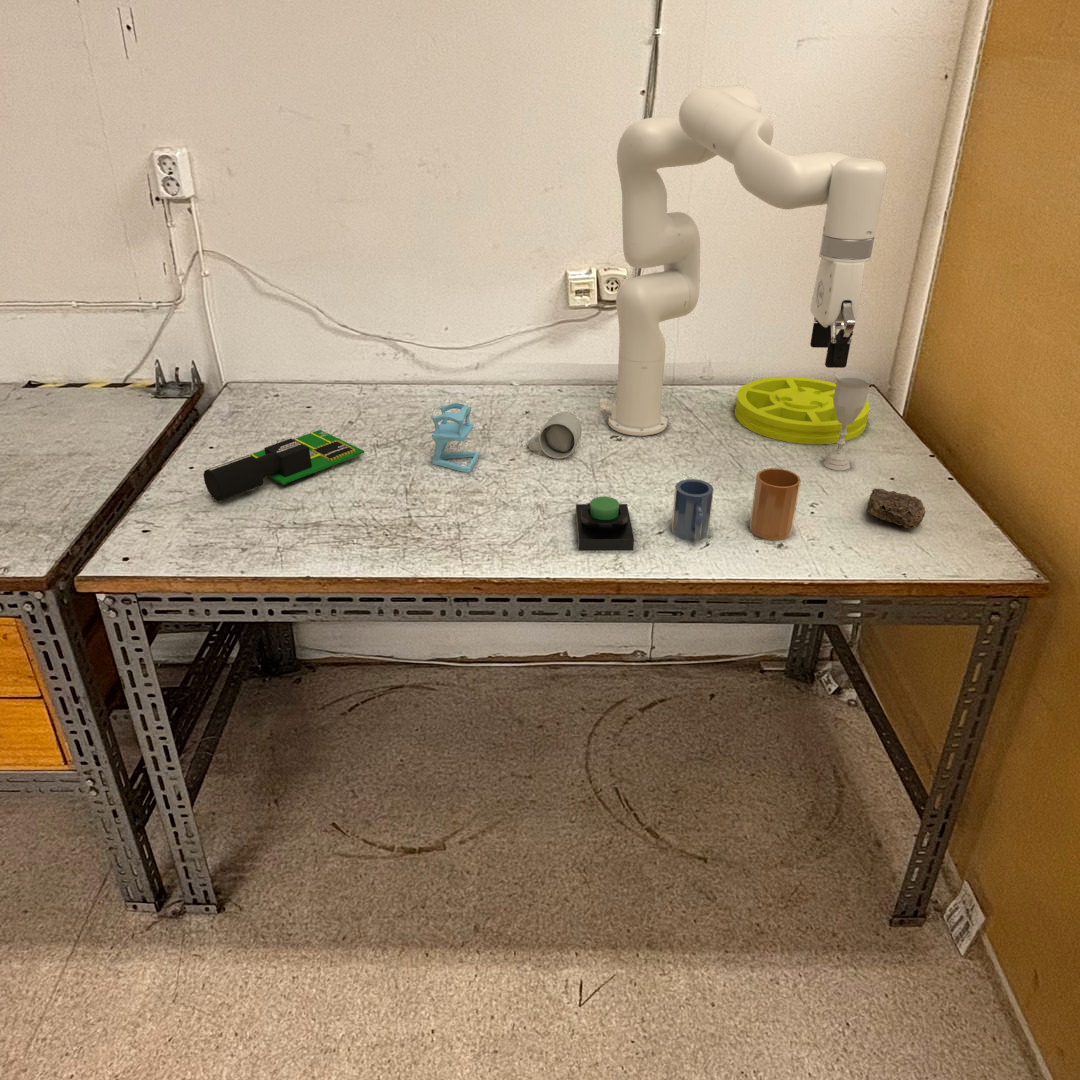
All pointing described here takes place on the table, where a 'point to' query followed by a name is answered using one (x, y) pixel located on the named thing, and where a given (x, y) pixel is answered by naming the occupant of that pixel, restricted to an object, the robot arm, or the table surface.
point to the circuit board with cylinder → (278, 464)
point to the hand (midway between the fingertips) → (827, 356)
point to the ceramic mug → (558, 436)
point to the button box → (604, 531)
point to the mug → (692, 509)
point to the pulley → (794, 410)
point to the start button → (604, 508)
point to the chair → (452, 436)
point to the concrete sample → (896, 508)
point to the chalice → (847, 410)
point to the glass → (774, 503)
